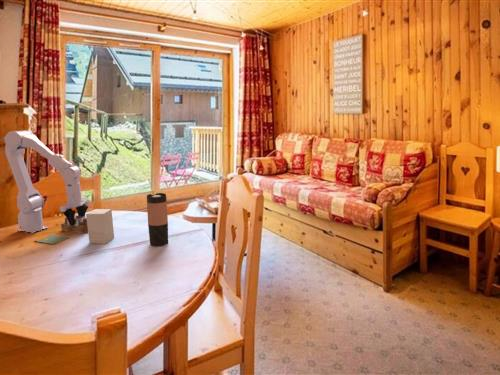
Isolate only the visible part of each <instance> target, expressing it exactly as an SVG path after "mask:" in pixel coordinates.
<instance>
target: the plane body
mask: <svg viewBox="0 0 500 375" xmlns="http://www.w3.org/2000/svg"><path fill="white" fill-rule="evenodd" d="M60 226H61V228H60V229H61V231H62V230H67V231H66V232H69V231H72V232H71V233H77V232H78V234H84V233H85V234H88V233H87V232H88V226H87V218H85V219H83V223H81V224H79V225H78V226H74V225H68V223H67V218H66V217H64V222H63V223H61V224H60Z"/></svg>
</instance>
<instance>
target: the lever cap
mask: <svg viewBox="0 0 500 375" xmlns="http://www.w3.org/2000/svg"><path fill="white" fill-rule="evenodd" d="M85 218H86V215H85V216H79V215H78V214H75V217H74V219H75V225H74V226H78V225H79V224H81V223H83V219H85ZM67 223H68V225H70V224H69V222H68V220H67Z"/></svg>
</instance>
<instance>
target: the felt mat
mask: <svg viewBox="0 0 500 375" xmlns="http://www.w3.org/2000/svg"><path fill="white" fill-rule="evenodd" d="M46 236H47V237H46ZM46 236H45V237H46V238H44V239H42V240H38V239H36V240H37V241H38V242H37V243H39V242H43V243H42V244H45V243H49V244H48V245H52V244H54V245H56V244H58V242H59V243H61V242H63V240H64V241H66V240H69V239H70V237H69V236H63V235H57V234H49V235H46ZM45 239H48V240H45ZM65 239H66V240H65ZM60 241H61V242H60ZM55 243H56V244H55Z"/></svg>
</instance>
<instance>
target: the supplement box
mask: <svg viewBox="0 0 500 375" xmlns="http://www.w3.org/2000/svg"><path fill="white" fill-rule="evenodd" d="M85 216H86V218H87V226H88V233H87V235H88V243H89V244H97V245H98V244H99V245H101V244H104V245H106V244H108V243H109V242H111V241H112V240H113V239H115V232H114V222H113V219H114V218H113V212H112V209H111V208H107V209H106V208H104V209H103V208H95V209H93V210H90V211H88V212H86V213H85Z"/></svg>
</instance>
